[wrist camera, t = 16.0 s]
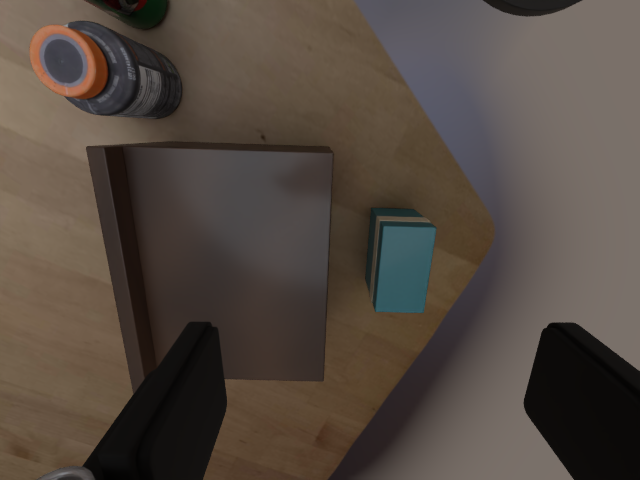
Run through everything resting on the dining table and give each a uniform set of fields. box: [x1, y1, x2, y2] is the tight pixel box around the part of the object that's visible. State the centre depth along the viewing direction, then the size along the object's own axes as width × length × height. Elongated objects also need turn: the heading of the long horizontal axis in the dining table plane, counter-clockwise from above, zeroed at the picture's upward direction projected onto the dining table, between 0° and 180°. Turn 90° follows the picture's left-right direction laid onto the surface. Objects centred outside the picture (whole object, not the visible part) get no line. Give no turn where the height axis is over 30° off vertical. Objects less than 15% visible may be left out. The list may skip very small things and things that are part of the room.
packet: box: [365, 208, 436, 313], centre depth 32 cm, size 5×8×7 cm, turn 178°
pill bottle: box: [30, 21, 182, 119], centre depth 25 cm, size 6×6×11 cm
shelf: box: [86, 141, 334, 394], centre depth 29 cm, size 16×20×12 cm
